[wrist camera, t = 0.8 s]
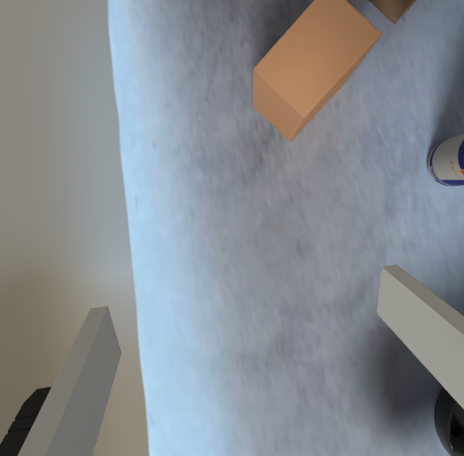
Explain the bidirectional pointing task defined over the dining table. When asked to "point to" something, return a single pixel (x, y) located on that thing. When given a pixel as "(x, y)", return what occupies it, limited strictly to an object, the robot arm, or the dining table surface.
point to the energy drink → (448, 161)
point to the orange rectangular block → (310, 64)
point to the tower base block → (393, 8)
